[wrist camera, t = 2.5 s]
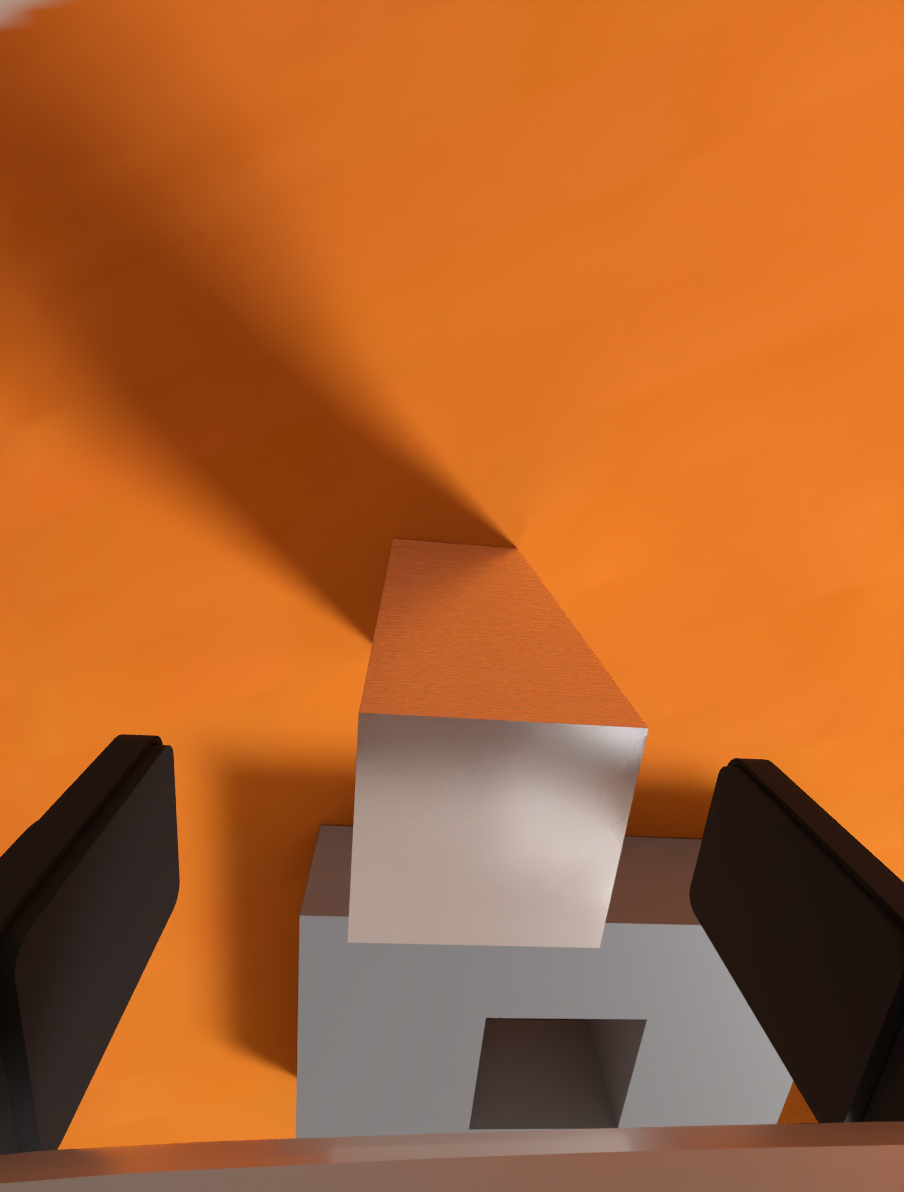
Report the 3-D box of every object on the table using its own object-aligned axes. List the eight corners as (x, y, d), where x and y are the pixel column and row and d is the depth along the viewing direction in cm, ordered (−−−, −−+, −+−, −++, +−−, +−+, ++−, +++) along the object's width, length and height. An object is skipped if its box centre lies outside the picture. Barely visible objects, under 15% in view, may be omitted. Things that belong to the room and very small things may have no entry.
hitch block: (320, 825, 21) (299, 915, 17) (780, 842, 23) (853, 929, 19) (313, 1086, 25) (294, 1204, 22) (701, 1086, 27) (747, 1197, 23)
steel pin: (393, 538, 18) (359, 712, 8) (517, 548, 18) (648, 728, 8) (385, 654, 19) (347, 942, 9) (502, 661, 20) (600, 948, 9)
